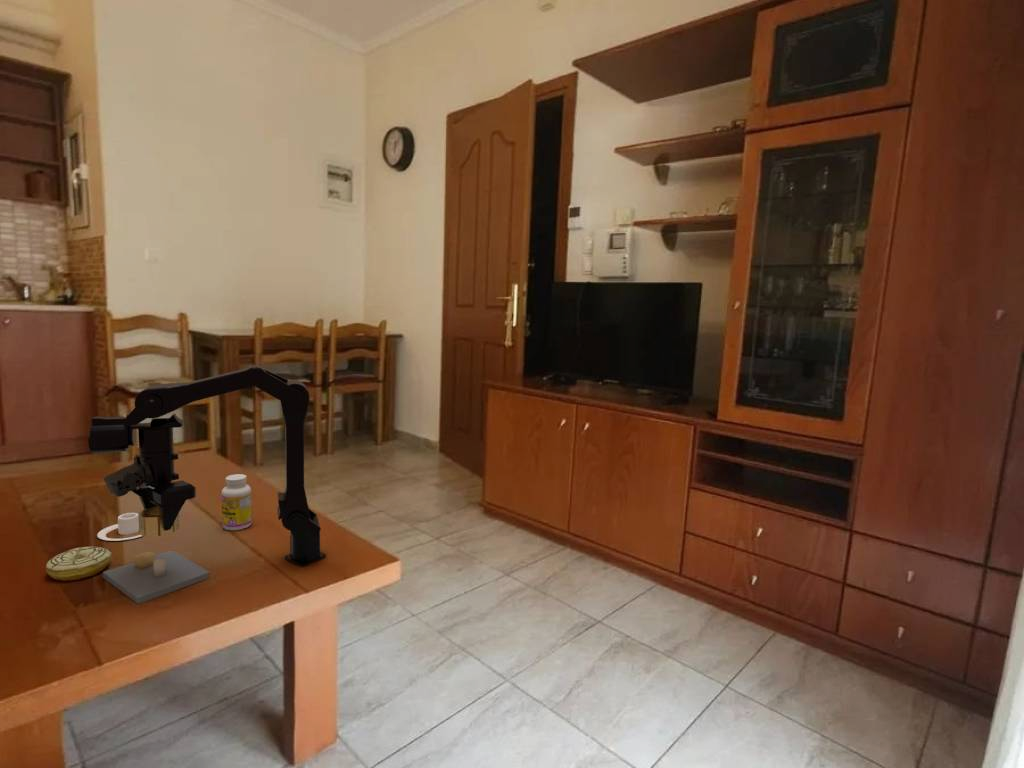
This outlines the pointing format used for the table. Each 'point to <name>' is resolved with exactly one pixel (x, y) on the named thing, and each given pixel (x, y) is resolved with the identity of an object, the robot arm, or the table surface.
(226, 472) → the table surface
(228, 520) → the supplement bottle
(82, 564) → the decorated donut
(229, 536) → the table surface
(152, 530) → the octagonal wooden tube
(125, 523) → the candle holder
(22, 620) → the table surface
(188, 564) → the carrier board
